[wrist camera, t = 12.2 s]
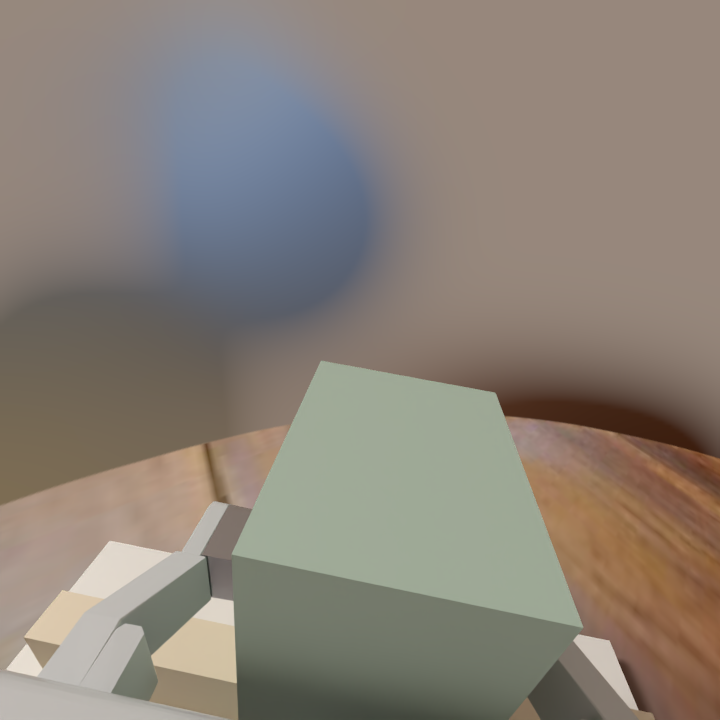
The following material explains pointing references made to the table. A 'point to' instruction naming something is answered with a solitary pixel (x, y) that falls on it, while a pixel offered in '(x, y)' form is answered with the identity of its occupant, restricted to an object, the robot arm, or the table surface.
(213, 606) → the rail board
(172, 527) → the table surface
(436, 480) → the tall rectangular block
